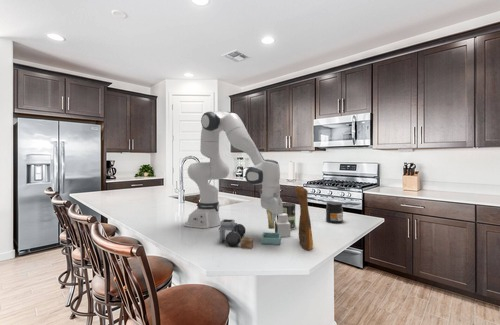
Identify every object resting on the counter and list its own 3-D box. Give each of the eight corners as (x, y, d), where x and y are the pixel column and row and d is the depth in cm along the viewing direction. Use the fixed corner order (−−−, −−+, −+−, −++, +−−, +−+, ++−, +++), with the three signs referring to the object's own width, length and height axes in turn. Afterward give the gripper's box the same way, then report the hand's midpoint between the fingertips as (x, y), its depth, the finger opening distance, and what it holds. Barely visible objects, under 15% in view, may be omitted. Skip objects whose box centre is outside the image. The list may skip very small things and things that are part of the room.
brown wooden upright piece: (300, 252, 111) (300, 189, 111) (294, 237, 130) (294, 184, 130) (315, 252, 111) (315, 189, 110) (307, 238, 130) (307, 184, 129)
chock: (241, 248, 117) (241, 239, 116) (243, 245, 121) (242, 237, 120) (251, 249, 116) (251, 240, 116) (253, 246, 120) (253, 237, 119)
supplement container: (343, 224, 155) (343, 205, 154) (325, 223, 158) (325, 204, 158) (342, 220, 165) (342, 202, 164) (326, 219, 168) (326, 201, 168)
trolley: (217, 246, 119) (216, 225, 119) (225, 236, 134) (225, 217, 133) (239, 247, 118) (239, 226, 117) (245, 237, 132) (245, 218, 132)
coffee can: (295, 225, 153) (295, 202, 152) (295, 230, 143) (295, 206, 142) (278, 224, 155) (278, 202, 154) (277, 229, 145) (277, 205, 144)
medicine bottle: (274, 233, 139) (274, 211, 138) (287, 232, 139) (287, 211, 139) (277, 237, 131) (277, 214, 131) (290, 236, 132) (290, 214, 132)
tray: (261, 244, 122) (261, 237, 122) (263, 237, 131) (263, 232, 130) (280, 245, 120) (280, 238, 120) (280, 238, 129) (280, 233, 129)
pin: (268, 229, 123) (267, 209, 122) (267, 227, 127) (266, 207, 126) (275, 228, 123) (274, 208, 123) (274, 226, 127) (273, 207, 127)
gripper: (286, 194, 116) (286, 224, 116) (269, 189, 135) (269, 214, 135) (273, 195, 114) (273, 225, 114) (258, 190, 133) (258, 215, 133)
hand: (271, 219), depth 125 cm, fingers closed on pin, 3 cm apart
